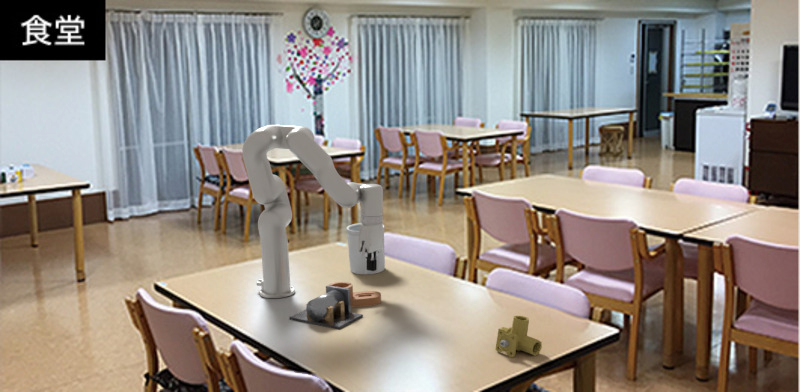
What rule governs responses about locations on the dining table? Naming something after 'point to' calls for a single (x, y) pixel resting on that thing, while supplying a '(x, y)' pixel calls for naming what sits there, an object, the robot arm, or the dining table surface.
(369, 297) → the bracket
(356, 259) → the utensil holder
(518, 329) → the ball valve
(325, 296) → the pipe stub
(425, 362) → the dining table surface
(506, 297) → the dining table surface
